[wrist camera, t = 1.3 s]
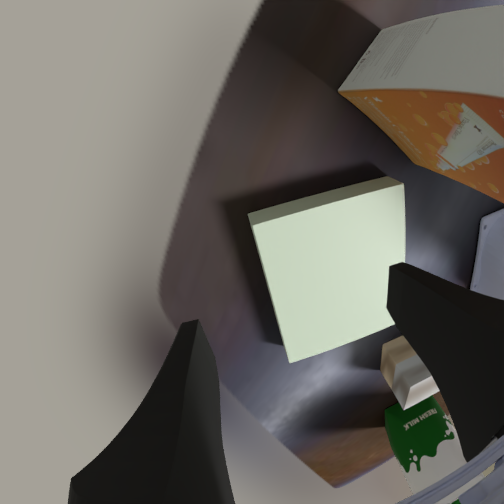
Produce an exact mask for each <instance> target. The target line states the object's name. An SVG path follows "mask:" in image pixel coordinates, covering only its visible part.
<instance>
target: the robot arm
mask: <svg viewBox="0 0 504 504" xmlns="http://www.w3.org/2000/svg"><path fill="white" fill-rule="evenodd" d="M386 308H387V310H388V312H389V314H390V316H391V317H392V319H393V321H394V323H395V324H396V326H397V328H398V329H399V331H400V332H401V333H402V335H403V336H404V337H405V339H406V340H407V341H408V343H409V344H410V345H411V347H412V348H413V350H414V351H415V352H416V354H417V355H418V356H419V358H420V359H421V360H422V362H423V363H424V365H425V366H426V367H427V369H428V370H429V372H430V374H431V375H432V377H433V379H434V381H435V383H436V385H437V387H438V388H439V390H440V392H441V395H442V397H443V399H444V401H445V403H446V405H447V408H448V410H449V412H450V415H451V418H452V420H453V423H454V426H455V428H456V431H457V435H458V438H459V441H460V445H461V448H462V453H463V456H464V458H465V460H466V462H467V463H466V464H465V465H463V466H462V467H460V468H459V469H457V470H456V471H454V472H452V473H451V474H449V475H448V476H446V477H444V478H443V479H441V480H439V481H438V482H436V483H434V484H432V485H431V486H429V487H427V488H425V489H423V490H422V491H420V492H418V493H416V494H414V495H412V496H410V497H408V498H406V499H404V500H402V501H400V502H398V503H396V504H435V503H436V502H438V501H440V500H441V499H443V498H445V497H446V496H448V495H450V494H451V493H453V492H454V491H456V490H457V489H459V488H460V487H462V486H463V485H465V484H466V483H468V482H469V481H471V480H472V479H473V478H475V477H476V476H478V475H479V474H480V473H482V472H483V471H484V470H486V469H487V468H488V467H489V466H491V465H492V464H493V463H494V462H496V463H495V468H494V470H493V472H491V473H490V474H489V475H487V476H486V477H485V478H483V479H482V480H481V481H479V482H478V483H477V484H475V485H474V486H472V487H471V488H469V489H468V490H467V491H465V492H464V493H462V494H461V495H459V497H458V499H459V501H460V503H461V504H504V209H501V210H499V211H496V212H494V213H492V214H489V215H487V216H484V217H483V218H482V219H481V222H480V231H479V239H478V246H477V253H476V259H475V265H474V271H473V276H472V281H471V286H470V290H469V289H467V288H464V287H462V286H459V285H457V284H454V283H452V282H449V281H447V280H445V279H442V278H440V277H438V276H435V275H433V274H431V273H429V272H426V271H424V270H422V269H419V268H417V267H415V266H412V265H409V264H407V263H404V262H400V263H397V264H394V265H391V266H389V277H388V292H387V304H386ZM68 504H235V501H234V497H233V493H232V489H231V485H230V480H229V475H228V471H227V466H226V461H225V455H224V449H223V443H222V434H221V414H220V391H219V378H218V372H217V366H216V360H215V356H214V354H213V352H212V349H211V347H210V345H209V343H208V340H207V338H206V336H205V333H204V331H203V328H202V326H201V324H200V321H199V319H197V320H193V321H189V322H184V323H182V324H181V326H180V328H179V330H178V333H177V335H176V337H175V340H174V342H173V344H172V346H171V348H170V351H169V353H168V355H167V357H166V359H165V361H164V363H163V365H162V367H161V369H160V371H159V373H158V375H157V377H156V379H155V380H154V382H153V384H152V386H151V388H150V389H149V391H148V393H147V395H146V396H145V398H144V399H143V401H142V402H141V404H140V406H139V407H138V409H137V410H136V411H135V413H134V414H133V416H132V417H131V418H130V420H129V421H128V422H127V423H126V425H125V426H124V427H123V428H122V430H121V431H120V432H119V434H118V435H117V436H116V437H115V438H114V439H113V441H111V443H110V444H109V445H108V446H107V447H106V448H105V449H104V450H103V451H102V452H101V453H100V454H99V455H98V456H97V457H96V458H95V459H94V460H93V461H92V462H90V463H89V464H88V465H87V466H86V467H85V468H83V469H82V470H81V471H80V472H79V473H77V474H76V475H75V476H74V477H72V478H71V482H70V490H69V498H68Z"/></svg>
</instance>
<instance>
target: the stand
mask: <svg viewBox="0 0 504 504" xmlns="http://www.w3.org/2000/svg"><path fill="white" fill-rule="evenodd" d="M248 218H249V221H250V225H251V228H252V232H253V236H254V239H255V243H256V247H257V250H258V254H259V257H260V261H261V265H262V268H263V272H264V275H265V279H266V283H267V286H268V290H269V294H270V297H271V301H272V305H273V308H274V312H275V316H276V319H277V323H278V327H279V330H280V334H281V338H282V341H283V345H284V348H285V351H286V354H287V357H288V360H289V363H292V362H295V361H298V360H302V359H305V358H308V357H311V356H314V355H317V354H319V353H322V352H325V351H328V350H331V349H334V348H336V347H339V346H342V345H344V344H347V343H350V342H352V341H355V340H358V339H360V338H363V337H365V336H368V335H370V334H373V333H375V332H377V331H380V330H382V329H385V328H387V327H389V326H392V325H394V324H395V323H394V321H393V319H392V317H391V316H390V314H389V312H388V310H387V308H386V304H387V292H388V277H389V266H391V265H394V264H397V263H400V262H404V263H405V197H404V183H401V182H399V181H397V180H395V179H393V178H391V177H388V176H385V177H381V178H377V179H373V180H369V181H365V182H361V183H357V184H353V185H350V186H346V187H342V188H338V189H334V190H330V191H327V192H323V193H319V194H316V195H312V196H308V197H304V198H301V199H297V200H294V201H290V202H286V203H283V204H279V205H276V206H272V207H269V208H265V209H262V210H258V211H255V212H252V213H248Z"/></svg>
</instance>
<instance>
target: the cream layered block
mask: <svg viewBox="0 0 504 504" xmlns="http://www.w3.org/2000/svg"><path fill="white" fill-rule="evenodd" d="M380 371H381V373H382V374H383V376H384V378H385V379H386V381H387V383H388V384H389V386H390V388H391V390H392V391H393V393H394V395H395V396H396V398H397V400H398V401H399V403H400V405H401V407H402V408H403V410H405V409H407V408H409V407H411V406H413V405H415V404H417V403H419V402H420V401H422V400H424V399H426V398H428V397H430V396H431V395H433V394H435V393H437V392H438V391H440V390H439V388H438V387H437V385H436V383H435V381H434V379H433V377H432V375H431V374H430V372H429V370H428V369H427V367H426V366H425V365H424V363H423V362H422V360H421V359H420V358H419V356H418V355H417V354H416V352H415V351H414V350H413V348H412V347H411V345H410V344H409V343H408V341H407V340H406V339H405V337H404V336H403V335H402V336H400V337H398V338H396V339H394V340H391V341H389V342H387V343H384V344H383V346H382V357H381V366H380Z"/></svg>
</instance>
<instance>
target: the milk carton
mask: <svg viewBox="0 0 504 504" xmlns="http://www.w3.org/2000/svg"><path fill="white" fill-rule="evenodd" d="M385 428H386V431H387V435H388V438H389V441H390V445H391V448H392V450H393V453H394V455H395V457H396V459H397V461H398V463H399V465H400V467H401V469H402V472H403V473H404V476H405V478H406V480H407V482H408V484H409V486H410V489H411V491H412V493H413V495H414V494H416V493H418V492H420V491H422V490H423V489H425V488H427V487H429V486H431V485H432V484H434V483H436V482H438V481H439V480H441V479H443V478H444V477H446V476H448V475H449V474H451V473H452V472H454V471H456V470H457V469H459V468H460V467H462V466H463V465H465V464H466V463H467V462H466V460H465V458H464V456H463V453H462V448H461V445H460V441H459V438H458V435H457V432H456V430H455V429H454V427H453V425H452V424H451V422H450V421H449V419H448V418H447V416H446V415H445V413H444V411H443V410H442V408H441V407H440V406H439V404H438V403H437V401H436V400H435V398H434V397H433V395H431V396H430V397H428V398H426V399H424V400H422V401H420V402H419V403H417V404H415V405H413V406H411V407H409V408H407V409H405V410H403V408H402V407H401V405H400V403H399V402H398V403H397V404H395V405H393V406H391V407H389V408H387V409H385ZM483 478H485V476H484V475H483V474H482V473H480V474H479V475H478V476H476V477H475V478H473V479H472V480H471V481H469V482H468V483H466V484H465V485H463V486H462V487H460V488H459V489H457V490H456V491H454V492H453V493H451V494H450V495H448V496H446V497H445V498H443V499H441V500H440V501H438V502H436V503H435V504H461V503H460V501H459V499H458V497H459V495H461V494H462V493H464V492H465V491H467V490H468V489H469V488H471V487H472V486H474V485H475V484H477V483H478V482H479V481H481V480H482V479H483Z"/></svg>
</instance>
